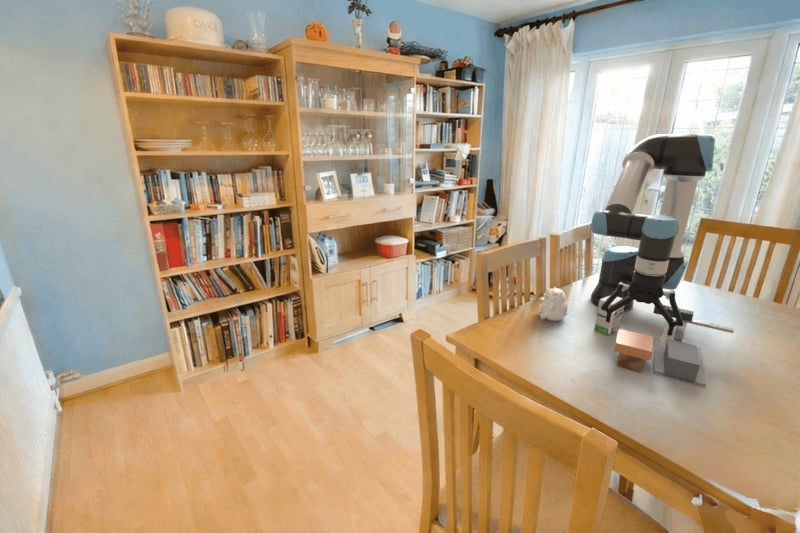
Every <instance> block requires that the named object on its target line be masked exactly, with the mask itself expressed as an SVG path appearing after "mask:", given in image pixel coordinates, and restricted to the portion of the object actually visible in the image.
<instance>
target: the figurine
mask: <svg viewBox="0 0 800 533" xmlns="http://www.w3.org/2000/svg"><path fill="white" fill-rule="evenodd" d="M565 293H566V292H564V291H563V290H562V289H560V288H557V286H553V288H547V289H546V292H544V293H543V297H540V298H538V300H539V301H542V303H540V304H539V305H538V315H539V318H540V319H541V320H545V319H547V320H548V321H553V322H558V321H562V320H563V319H564V318H565V317H566V316H567V315H568V313H567V312H568V306H569V305H568V302H567V299H566V298H567V297H566V294H565Z"/></svg>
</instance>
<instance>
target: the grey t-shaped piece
mask: <svg viewBox="0 0 800 533" xmlns="http://www.w3.org/2000/svg"><path fill="white" fill-rule="evenodd" d="M663 306H664V307H665V308H666V310H667V311H668V313H669V314H670V315H671V317H672V318H673V319H676V318H675V316H674V313H673V310H672V308H671V305H670V306H669V305H666V304H663ZM678 309H679V311H680V314H681V317H682V320H683V326H676V329H675V333H674V336H673V340H675V341H680V342H683V339H684V335H685V333H686V332H685V331H686V328H687V324H691V325H696V326H700V327H704V328H709V329H713V330H717V331H721V332H726V333H731V334H733V333H734V331H735V330H734V327H729V326H725V325H721V324H716V323H710V322H707V321H703V320H699V319H695V318H694V310H693V311H692V310H689V309H683V308H679V307H678ZM653 314H656V315H661V316H662V314H661V313H660V312H659V310H658V309H657V308H656V307H655V306H654V308H653Z"/></svg>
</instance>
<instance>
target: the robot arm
mask: <svg viewBox="0 0 800 533" xmlns="http://www.w3.org/2000/svg"><path fill="white" fill-rule="evenodd" d="M715 143H716V138H715V136H714V135H713V134H709V133H675V134H673V133H670V134H669V133H667V134H665V133H662V134H654V135H652V136H648V137H647V138H644V139H642V140H641V141H639V142H637V143H636V144H635V145H634V146H633V147H632V148H631V149H629V151H628V152H627V153H626V155H625V156H624V157H623V158H624V159H623V161H622V171H621V173H620V175H619V177H618V180H617V181H616V184H615V186H614V189H613V191H612V193H611V195H610V197H609V200H608V202H607V204H606V206H605V209H602V210H600V209H599V210H596V211H595V212H594V213H593V216H592V220H591V224H590V225H591V226H590V229H591V230H590V231H591V232H592V233H593V234H595V235H600V236H604V237H612V238H613V237H614V238H621V239H628V240H634V241H639V244H638V245H639V247H638V248H637V247H635V246H625V245H621V246H612V247H607V248H606V249H605V250H604V253H603V255H602V256H603V257H602V258H601V267H600V270H599V271H600V273H599V277H598V283H597V284H596V286H595V287H594V289H593V291H592V293H591V295H590V302H592V304H594V305H596V306H597V307H598V306H599V300H600V299H602V298H605V297H607V296H609V298H608V299H607V300H606V301H605V302H604V303H603V304H602V306H601V310H604V311H606V312H607V316H606V322H609V328H608V334H610V333H611V329H612V324H613V319H614V314H615V311H616V310H617V309H619V308H621V307H622V306H624V310H623V312H624V311H629V310H631V309H633V307H634V302H637V303H644V304H647V305H650V304H653V305H654V307H656V308H657V309H658V310H659V312H660V313H661V314H662V315H661V316H662V317H663V318H664V320H665V322H664V323H665V324H664V328H663V332H662V336H661V338H660V339H661V346H663V347H664V345H665V341H666V340H667V337H668V336H669V337H672V335H673V332H674V328H675V327H677V326H683V320H682V317H681V314H680V311H679V309H680V308H679V307H678V304H677V301H676V291H675V290H676V289H677V288H678V287H679V284H680V283H681V281H682V278H683V275H684V274H685V271H686V268H687V266H688V264H689V261H688V260H687V259H684V258H685V253H684V252H683V251H682V245H683V241H684V238H685V233H686V230H687V226H688V221H689V218H690V213H691V209H692V206H693V203H694V202H693V201H694V198H695V195H696V194H695V193H696V189H697V185H698V182H699V181H700V180H702V179H703V178H705V177H706V175H707V174H706V173H708V172H712V170H713V163H714V155H715V153H714V152H715ZM653 170H663V174H662V176H663V177H664V178H665V179H666V182H665V187H664V192H663V197H662V201H661V205H660V209H659V210H660V211H659V214H652V215H649V214H637V213H633V212H634V210H635V206H636V204H637V201H638V198H639V196H640V194H641V191H642V189H643V188H644V187H643V186H644V184H645V181H646V178H647V176H648V174H650V173H651V172H652V171H653ZM665 290H666V291H665ZM668 290H669V291H668ZM616 297H620V298H623V299H621V300H620V301H618V302H616V303H615V304H613V305H612V306H610V307H609V305H610V304H611V303H612V302H613V301H614V300H615V298H616ZM662 297H665V299H667V300H669V305H670V307H671V308H672V310H673V313H674V316H675V318H672V317H671V315H670V314H669V313H668V311H667V310H666V308H665V307H664V306H663V305H664V304H663V303H662V302H661V300H660V299H661V298H662ZM678 308H679V309H678ZM610 335H611V334H610Z"/></svg>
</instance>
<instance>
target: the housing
mask: <svg viewBox="0 0 800 533" xmlns="http://www.w3.org/2000/svg"><path fill="white" fill-rule="evenodd" d="M661 339H662V338H658V337H654V338H653V360H652V361H653V367H652V373H653V374H657V375H660V376H663V377H667V378H671V379H674V380H679V381H682V382H685V383H689V384H693V385H696V386H699V387H700V386H701V387H704V388H707V386H708V385H707V381H706V375H705V374H706V373H705V368H704V362H703V356H702V353H701V352H702V351H701V348H700V347H698V346H697V344H693V343H688V342H684V341H682V342H680V341H675V340H674V339H670V338H667V339H666V341H665V345H664V347H663V346H661Z"/></svg>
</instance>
